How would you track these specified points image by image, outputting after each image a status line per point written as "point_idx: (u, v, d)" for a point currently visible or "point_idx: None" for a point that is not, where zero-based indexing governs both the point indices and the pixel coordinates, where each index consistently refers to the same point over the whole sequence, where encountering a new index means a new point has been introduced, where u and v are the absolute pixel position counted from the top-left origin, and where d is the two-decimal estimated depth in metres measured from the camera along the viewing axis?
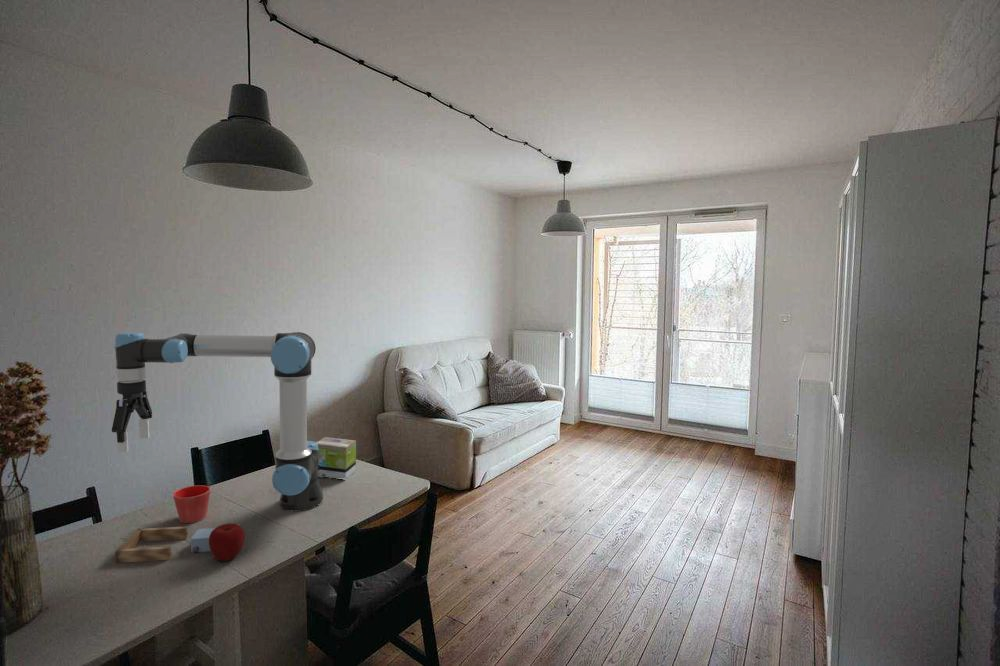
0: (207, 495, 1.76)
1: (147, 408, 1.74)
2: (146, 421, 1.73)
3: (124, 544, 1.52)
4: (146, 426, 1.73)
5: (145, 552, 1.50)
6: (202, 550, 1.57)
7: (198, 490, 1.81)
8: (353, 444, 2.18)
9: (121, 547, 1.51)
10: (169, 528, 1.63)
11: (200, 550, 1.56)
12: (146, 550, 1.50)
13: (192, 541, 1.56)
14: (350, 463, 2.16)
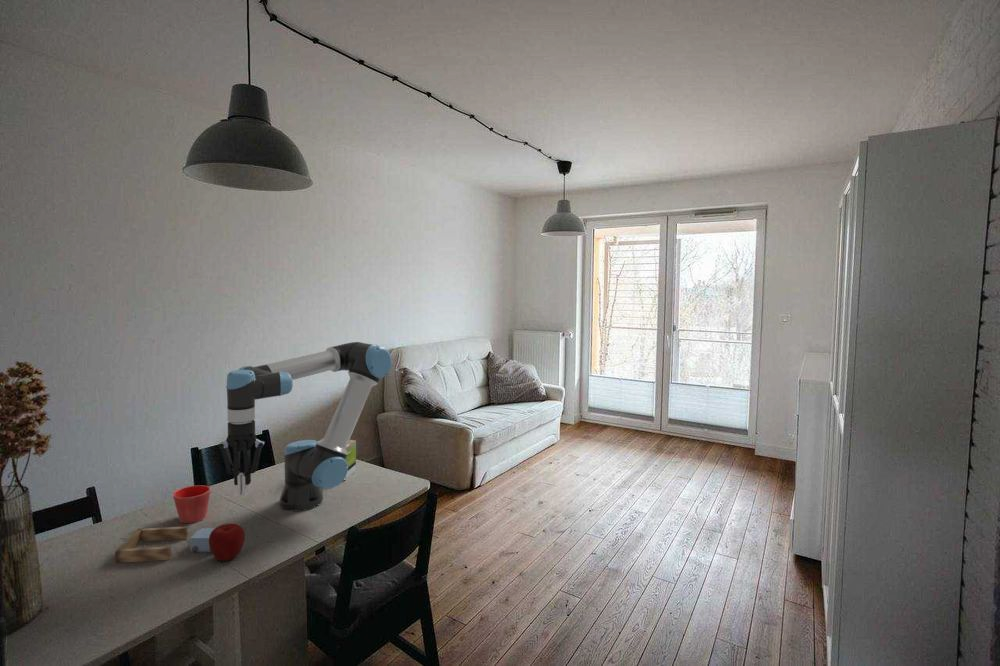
0: (207, 495, 1.76)
1: (253, 462, 1.58)
2: None
3: (124, 544, 1.52)
4: None
5: (145, 552, 1.50)
6: (201, 550, 1.57)
7: (198, 490, 1.81)
8: (353, 444, 2.18)
9: (121, 547, 1.51)
10: (169, 528, 1.63)
11: (199, 550, 1.57)
12: (146, 550, 1.50)
13: (191, 540, 1.56)
14: (350, 464, 2.16)
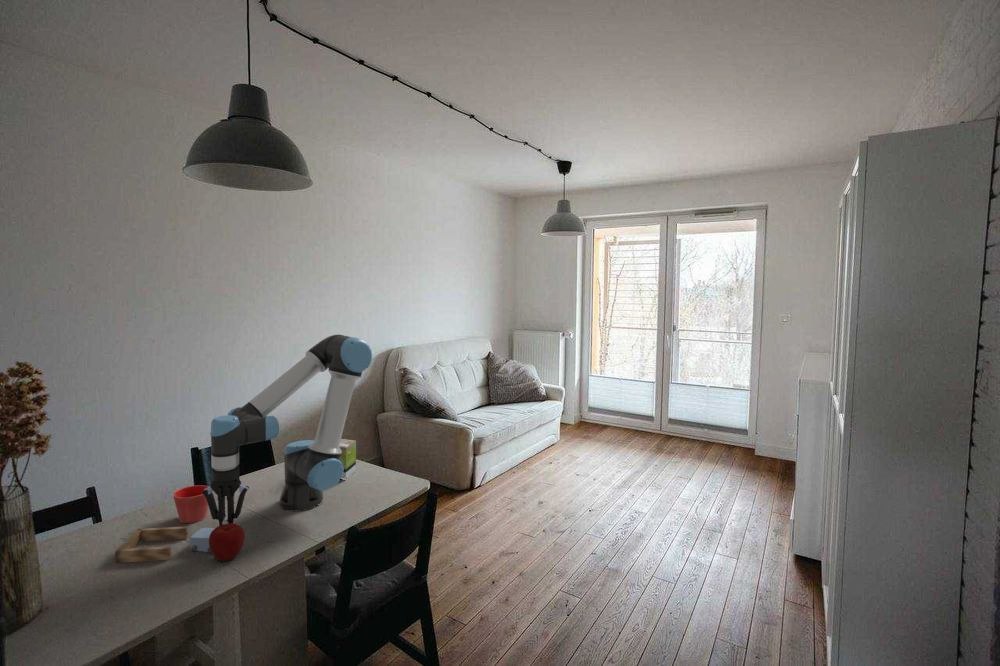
0: None
1: (236, 507, 1.59)
2: None
3: (124, 544, 1.52)
4: None
5: (145, 552, 1.50)
6: (200, 550, 1.57)
7: (198, 490, 1.81)
8: (353, 444, 2.18)
9: (121, 547, 1.51)
10: (169, 528, 1.63)
11: (198, 549, 1.57)
12: (146, 550, 1.50)
13: (191, 539, 1.57)
14: (350, 464, 2.16)
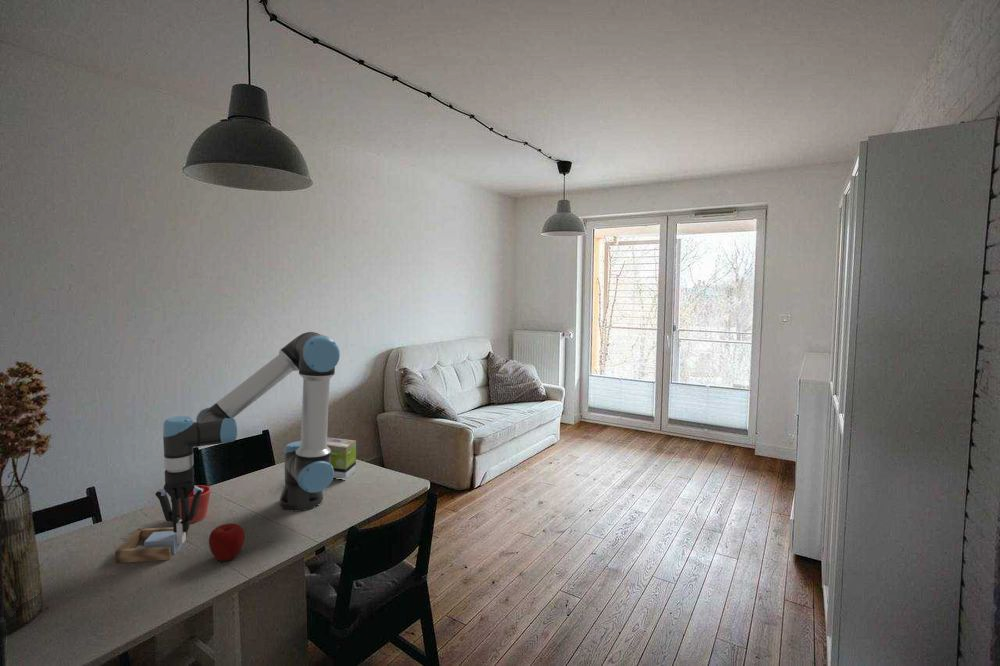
0: (207, 495, 1.76)
1: None
2: None
3: (124, 544, 1.52)
4: None
5: (145, 552, 1.50)
6: None
7: None
8: (353, 444, 2.18)
9: (121, 547, 1.51)
10: (169, 528, 1.63)
11: None
12: (146, 550, 1.50)
13: (145, 544, 1.53)
14: (350, 463, 2.16)
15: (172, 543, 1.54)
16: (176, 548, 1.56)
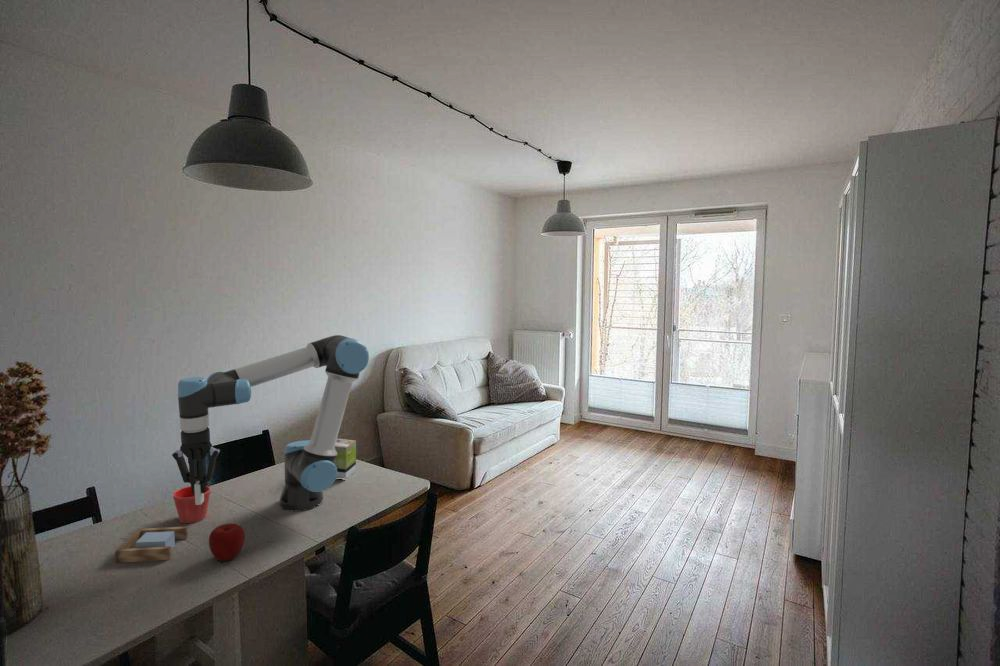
0: (207, 495, 1.76)
1: None
2: None
3: (124, 544, 1.52)
4: None
5: (145, 552, 1.50)
6: None
7: None
8: (353, 444, 2.18)
9: (121, 547, 1.51)
10: (169, 528, 1.63)
11: None
12: (146, 550, 1.50)
13: (137, 545, 1.53)
14: (350, 464, 2.16)
15: (163, 544, 1.54)
16: None
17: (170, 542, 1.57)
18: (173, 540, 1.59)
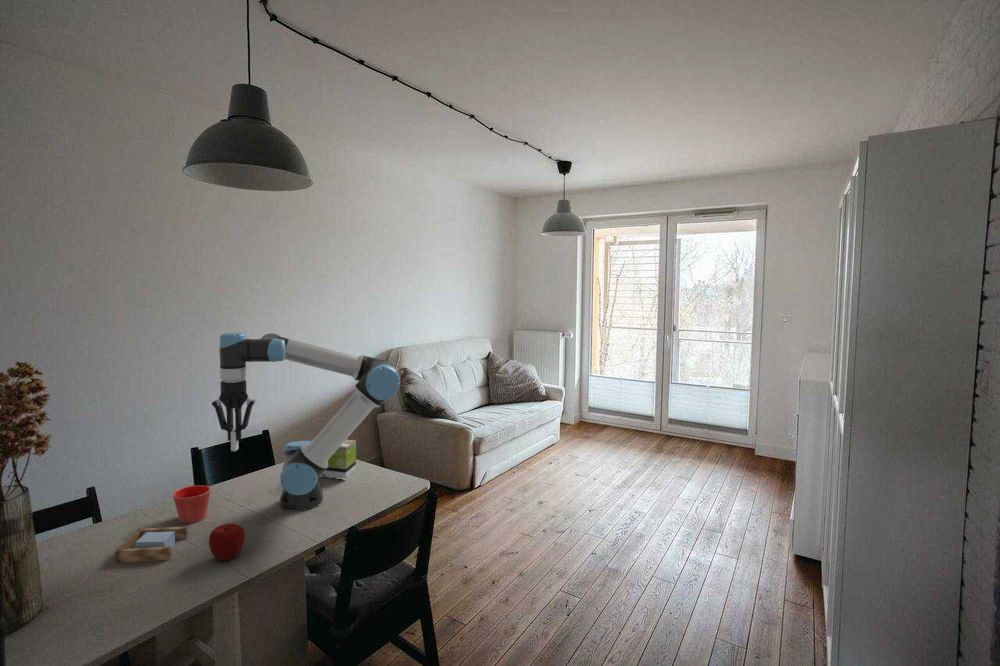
0: (207, 495, 1.76)
1: None
2: None
3: (124, 544, 1.52)
4: None
5: (145, 552, 1.50)
6: None
7: (198, 490, 1.81)
8: (353, 444, 2.18)
9: (121, 547, 1.51)
10: (169, 528, 1.63)
11: None
12: (146, 550, 1.50)
13: (137, 545, 1.53)
14: (350, 464, 2.16)
15: (163, 544, 1.54)
16: None
17: (170, 543, 1.57)
18: (173, 540, 1.59)
